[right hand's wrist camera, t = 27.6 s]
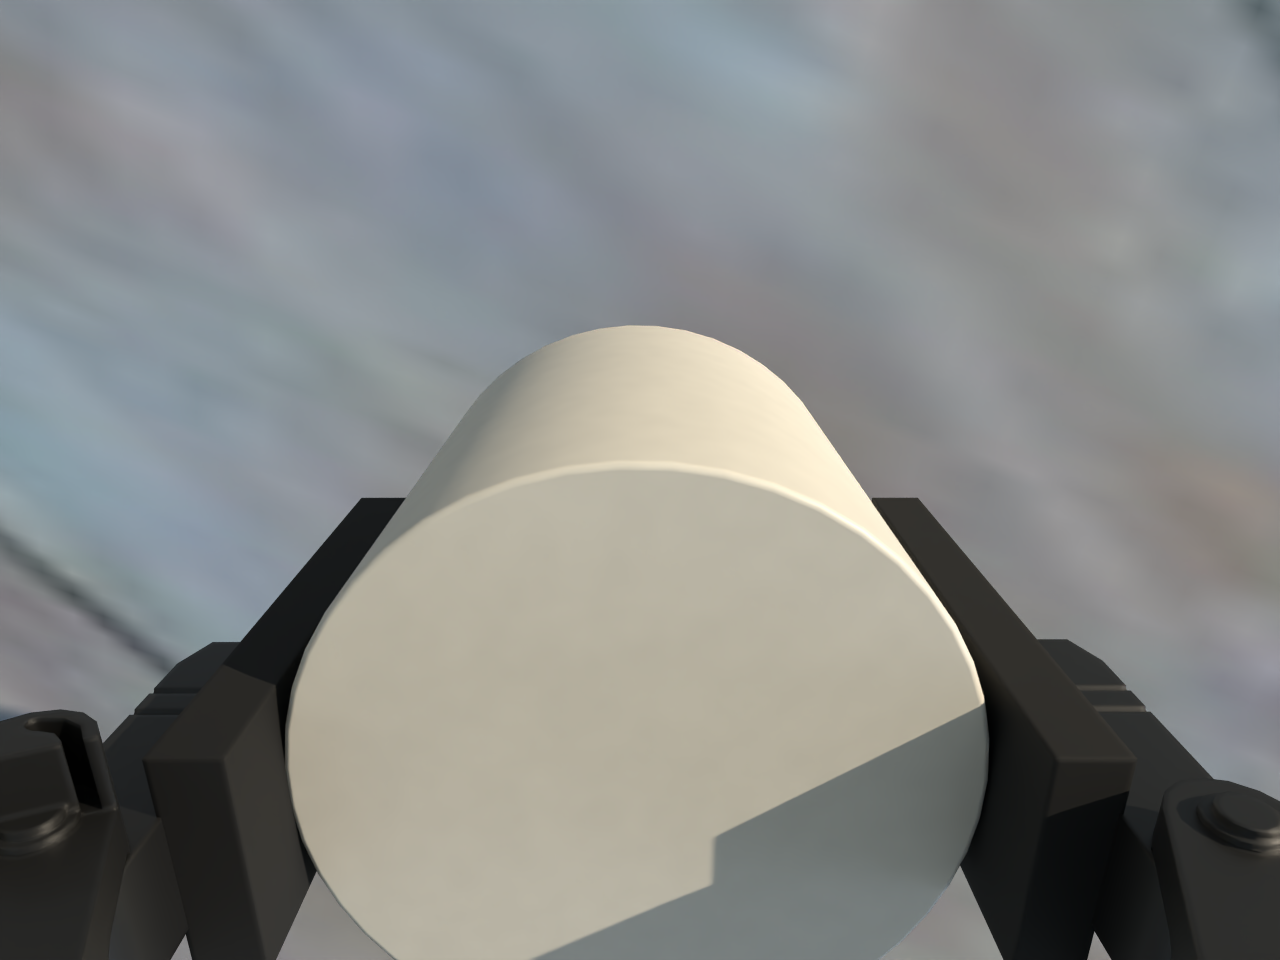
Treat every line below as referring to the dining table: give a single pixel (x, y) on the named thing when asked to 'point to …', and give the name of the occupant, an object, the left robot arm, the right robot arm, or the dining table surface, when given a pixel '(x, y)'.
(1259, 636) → the dining table surface
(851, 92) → the dining table surface
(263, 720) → the right robot arm
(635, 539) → the canister
